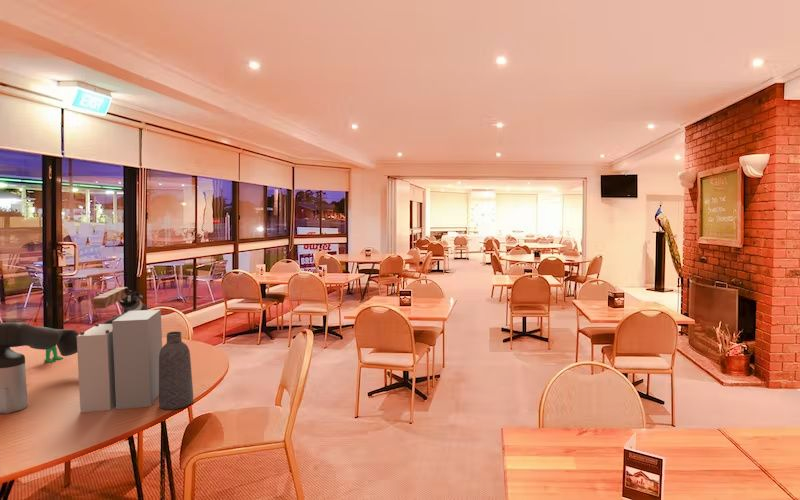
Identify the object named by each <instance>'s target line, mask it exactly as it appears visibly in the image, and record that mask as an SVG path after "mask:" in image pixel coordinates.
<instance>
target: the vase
mask: <svg viewBox="0 0 800 500" xmlns="http://www.w3.org/2000/svg"><path fill="white" fill-rule="evenodd" d="M182 340H183V339H182V332H181V331H169V332H167V333H166V343H165V344H164V345H162V349H161V350H160V354H159V396H158V406H159V407H160V409H161V410H162V409H163V410H168V411H169V410H170V411H171V410H172V411H173V410H178V409H182V408H186V407H188V406H190V405H192V404H193V402H194V389H193V386H194V385H193V375H192V374H193V373H192V361H191V353H190V351H191V350H190V348H189V346H188V345H187V344H186V343H185V342H184V341H182Z"/></svg>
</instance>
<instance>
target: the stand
mask: <svg viewBox="0 0 800 500" xmlns="http://www.w3.org/2000/svg"><path fill="white" fill-rule="evenodd" d="M122 314H123V313H122ZM162 334H163V332H162V309H148V310H139V311H128V312H127V313H125V314H123V315H122V316H120V317H118V318H117V319H115V320H113V321H112V324H103V323H102V324H101V323H98V322H95V323H94V326H92V327H91V328H88V329H87V330H81V331H80V334H79V335H78V336H77V353H76V354H77V370H78V387H79V388H78V391H79V407H80V409H79V410H80V411H79V412H80V413H92V412H93V413H94V412H103V411H111V409H113V408H114V407H115V409H116V410H126V409H136V408H137V409H139V408H146V407H147V408H148V407H152V405H153V404H154V402H155V401H156V400H157V398H159V354H160V350H161V349H162V347H163V336H162Z"/></svg>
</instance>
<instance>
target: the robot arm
mask: <svg viewBox="0 0 800 500" xmlns="http://www.w3.org/2000/svg"><path fill="white" fill-rule="evenodd" d="M115 288H116V287H114V288H112V289H111V290H113V289H115ZM124 292H125V294H126V295H128V296H127V297H125V298H123V299H121V300H119V301H118V302H119V305H120V306H121V307H122V309H124V310H125V311H124V312H123V313H121V314H119V315H116V316H114V317H112V318H109V319H107V320H105V321H104V322H103V323H102V324H112V321H113V320H115V319H117V318H118V317H120V316H122V315H123V314H125V313H127V312H128V311H139V310H149V309H148V307H147V305H146V304H145V303H143V302H142V300H143V295H144V294H143V293H141V292H139V291H137V290H133V291H132V290H130V289H129V288H128V289H127V288H125V290H124ZM78 335H80V334H79V332H78V331H77V330H75V329H69V328H68V329H67V328H66V329H63V328H62V329H60V328H59V329H58V328H51V327H46V326H34V325H31V324H28V323H25V322H18V321H17V322H16V321H11V322H0V414H5V415H8V414H10V413H14V412H18V411H21V410H24V409H26V408H27V407H28V405H29V400H28V388H27V387H28V386H27V384H28V383H27V372H26V371H27V368H26V357H25V355H24V354H22V353H19V352H17V351H15V350H13V349H11V348H17V347H24V346H25V347H30V348H31V349H35V350H45V351H46V349H50V348H52V347H54V346H55V345H56V348H57V350H58V351H59V353H60V355H61V357H68V356H72V355H75V354H78V353H77V336H78ZM27 345H28V346H27Z"/></svg>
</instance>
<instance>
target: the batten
mask: <svg viewBox="0 0 800 500" xmlns="http://www.w3.org/2000/svg"><path fill="white" fill-rule="evenodd" d="M114 288H115V289H113V288H112V289H113V290H112V289H111V290H108V291H107V292H104V293H102V294H99V295H97V296H95V297H93V298H92V308H93V310H94V309H96V310H97V309H106V308H108V307H110V306H112V305H113V304H116V303H117V302H119V300H121V299H123V298H125V297H127V296H128V295H126V294H125V292H124V290H125V288H127V289H129V287H128V286H123V287H122V286H119V287H114Z"/></svg>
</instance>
